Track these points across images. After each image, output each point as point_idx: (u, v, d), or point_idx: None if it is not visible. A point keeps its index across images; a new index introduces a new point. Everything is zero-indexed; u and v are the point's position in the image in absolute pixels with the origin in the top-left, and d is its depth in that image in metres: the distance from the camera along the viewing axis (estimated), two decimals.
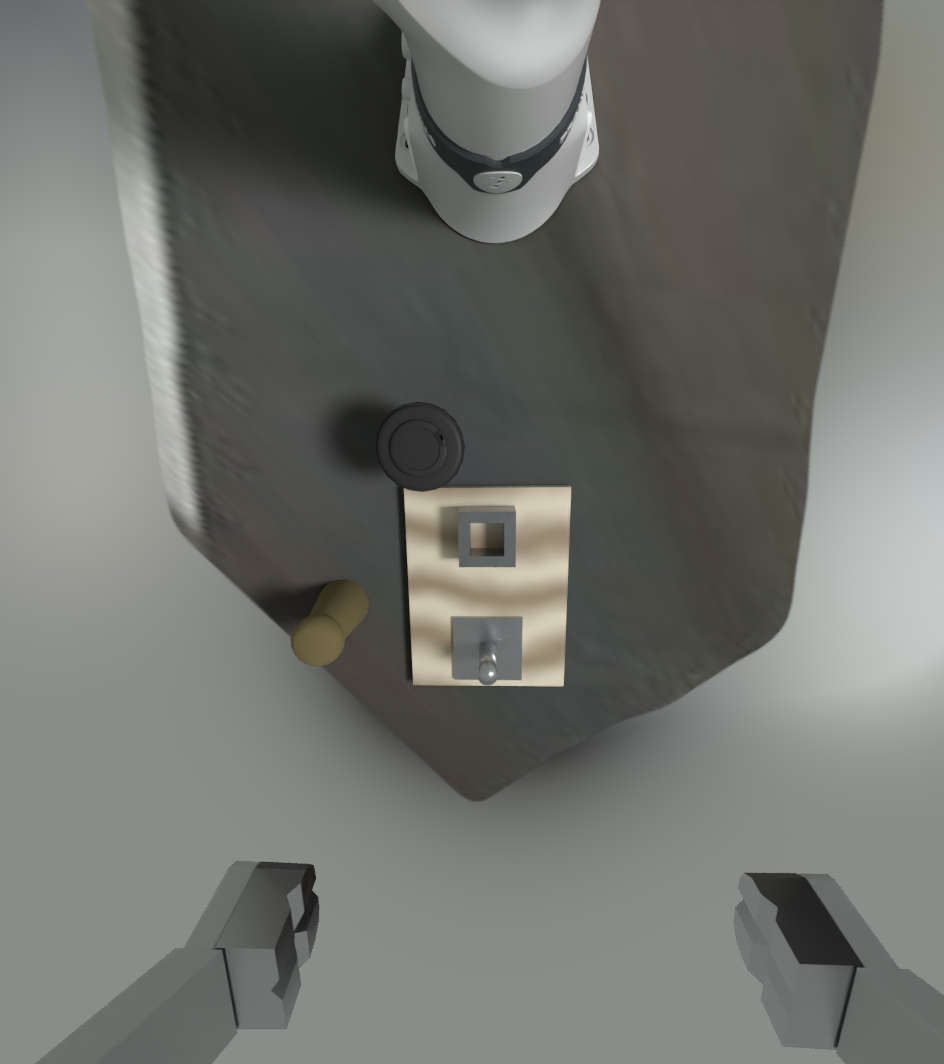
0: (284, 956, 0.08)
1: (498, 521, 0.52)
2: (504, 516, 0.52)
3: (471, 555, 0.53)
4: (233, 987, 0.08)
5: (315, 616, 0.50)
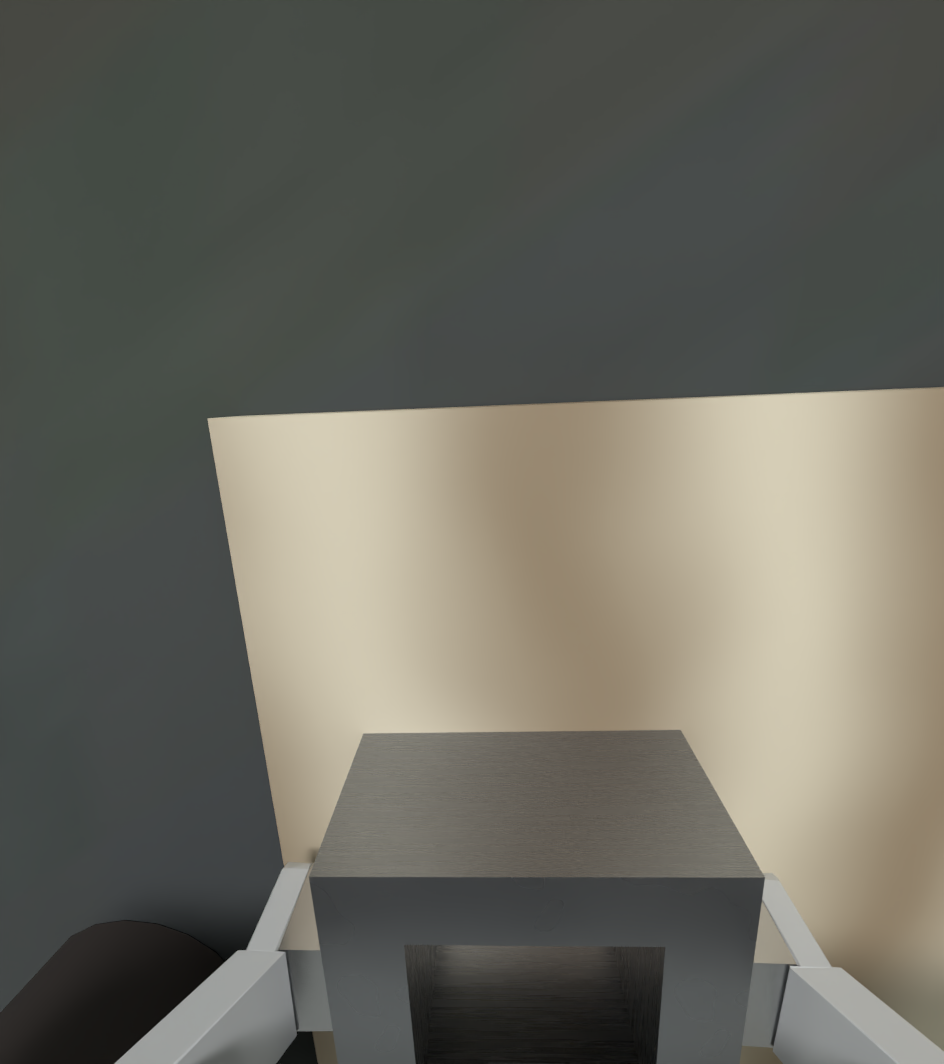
0: None
1: (394, 977, 0.07)
2: (354, 943, 0.07)
3: None
4: (295, 989, 0.08)
5: None
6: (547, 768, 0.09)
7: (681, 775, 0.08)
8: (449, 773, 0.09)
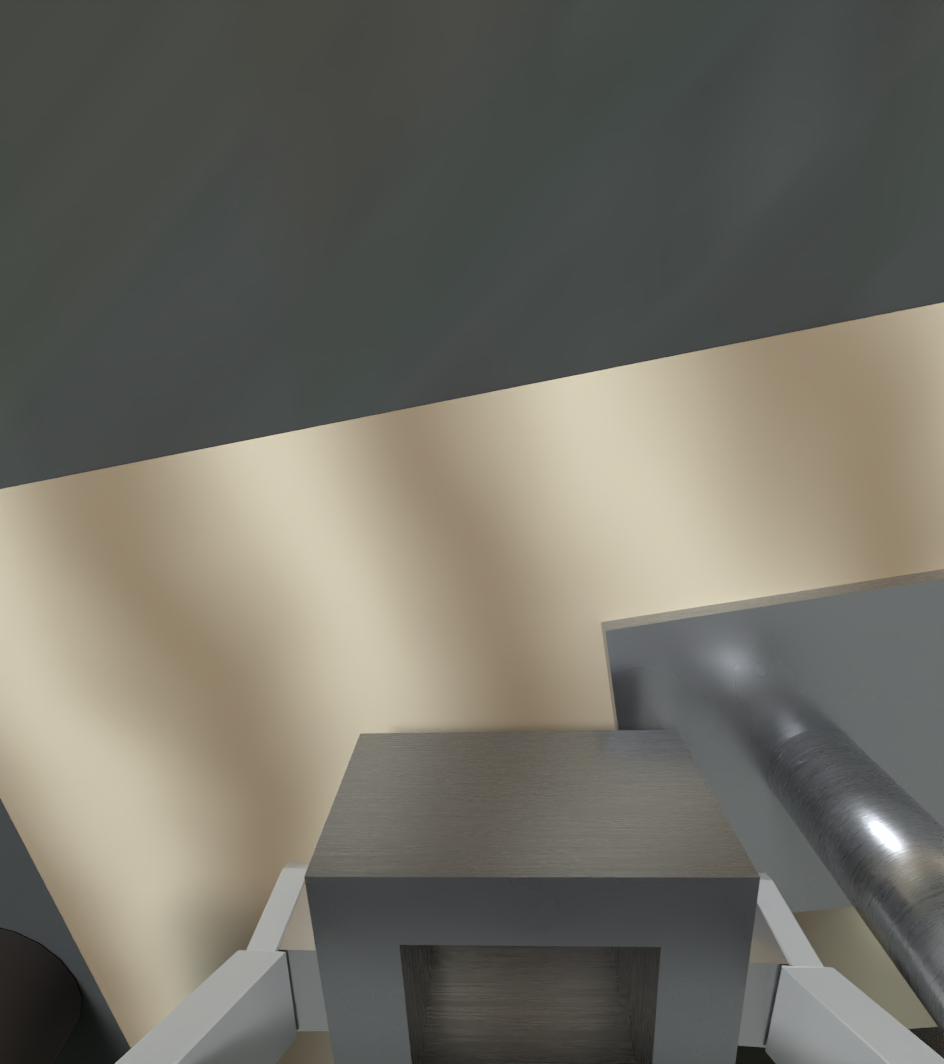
0: None
1: (390, 977, 0.07)
2: (349, 943, 0.07)
3: None
4: (295, 989, 0.08)
5: None
6: (542, 767, 0.09)
7: (677, 775, 0.08)
8: (445, 773, 0.09)
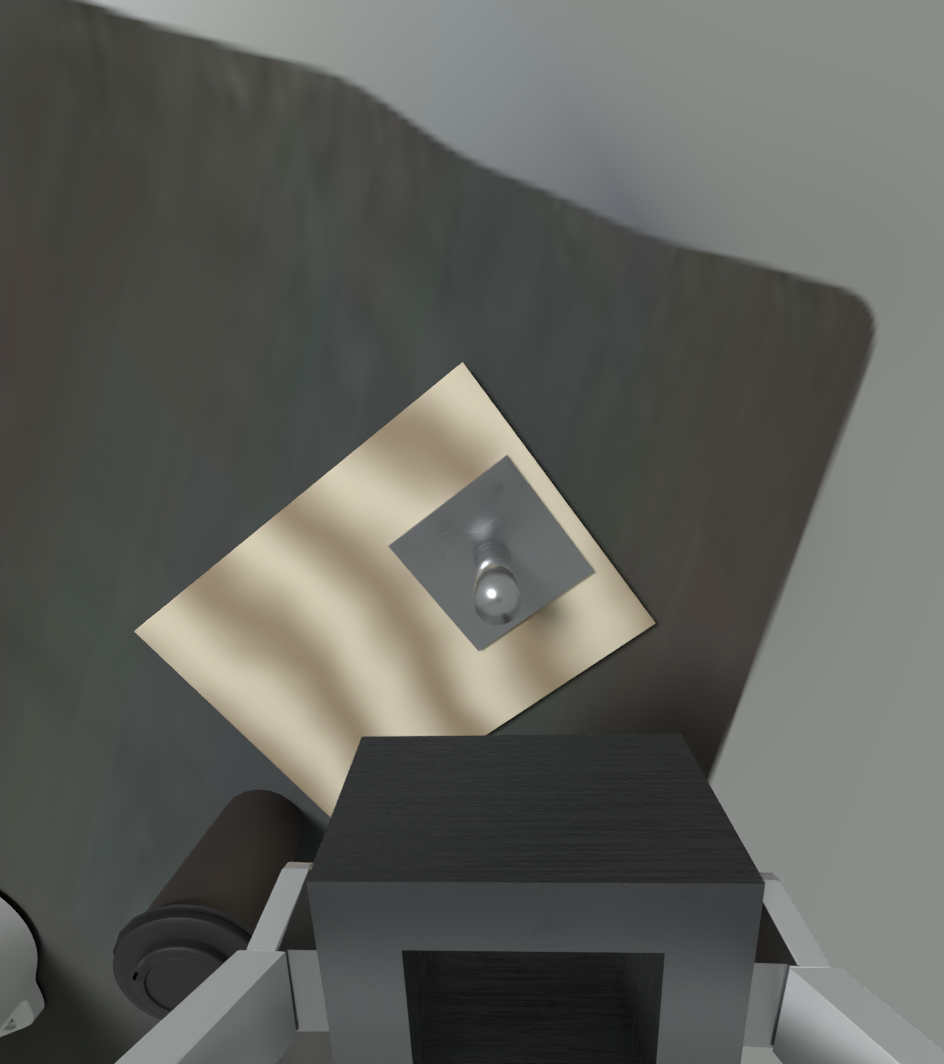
0: None
1: (392, 982, 0.07)
2: (351, 948, 0.07)
3: None
4: (295, 989, 0.08)
5: None
6: (546, 772, 0.09)
7: (681, 779, 0.08)
8: (448, 777, 0.08)
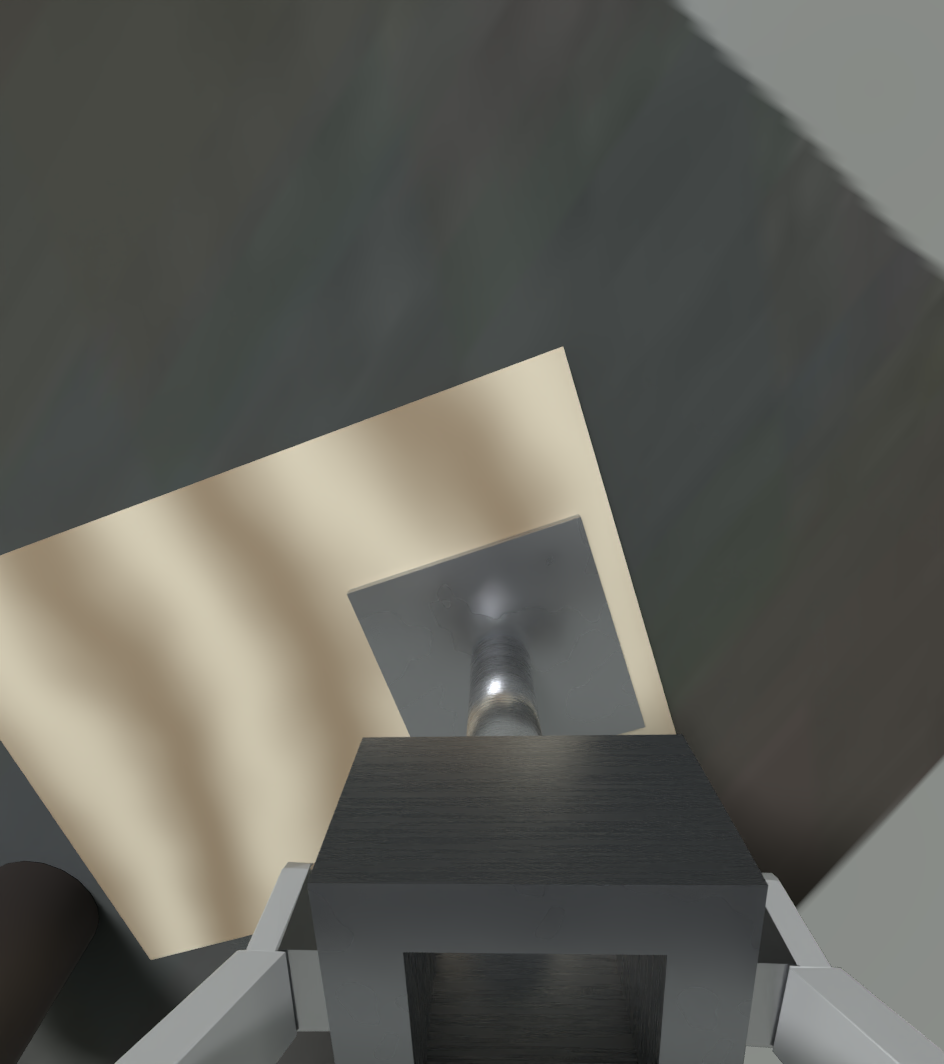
0: None
1: (393, 984, 0.07)
2: (352, 950, 0.07)
3: None
4: (295, 989, 0.08)
5: None
6: (547, 773, 0.09)
7: (683, 780, 0.08)
8: (449, 778, 0.08)
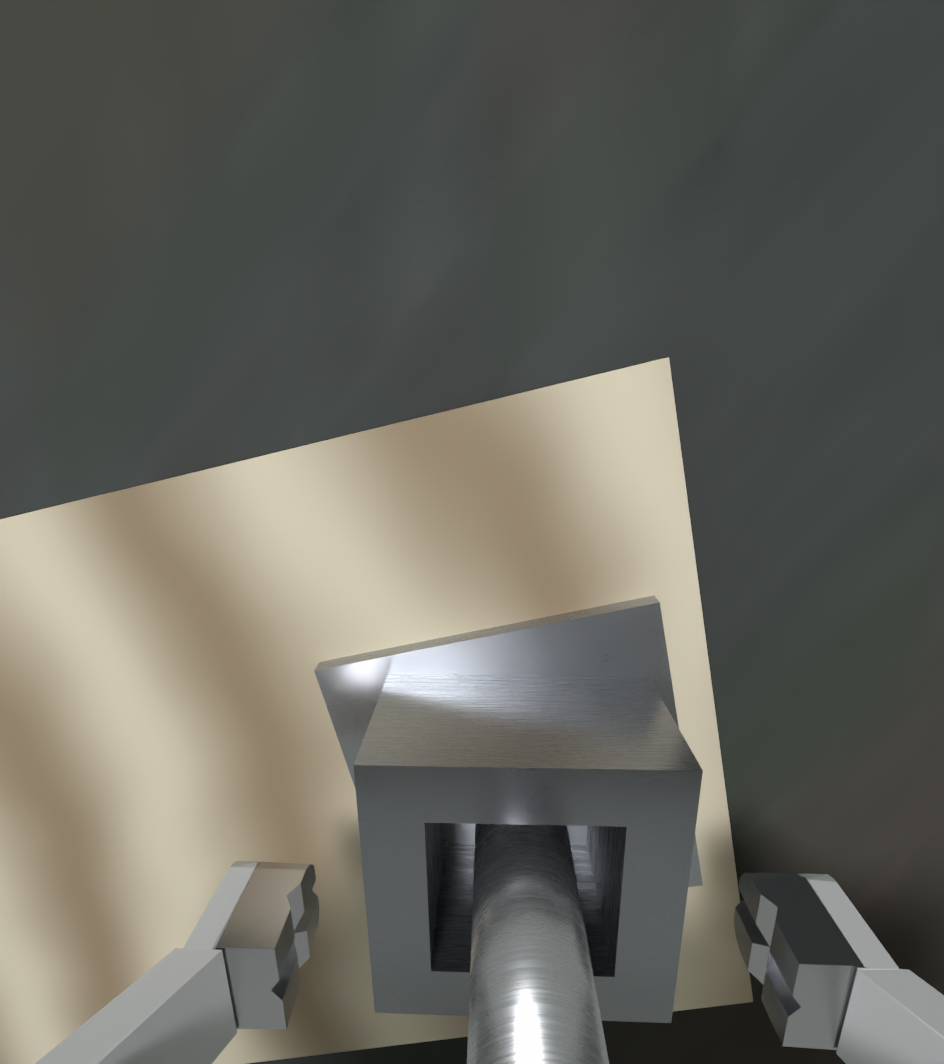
0: (284, 956, 0.08)
1: (415, 849, 0.09)
2: (385, 821, 0.09)
3: (611, 954, 0.10)
4: (233, 987, 0.08)
5: None
6: (539, 699, 0.11)
7: (646, 706, 0.10)
8: (460, 702, 0.11)
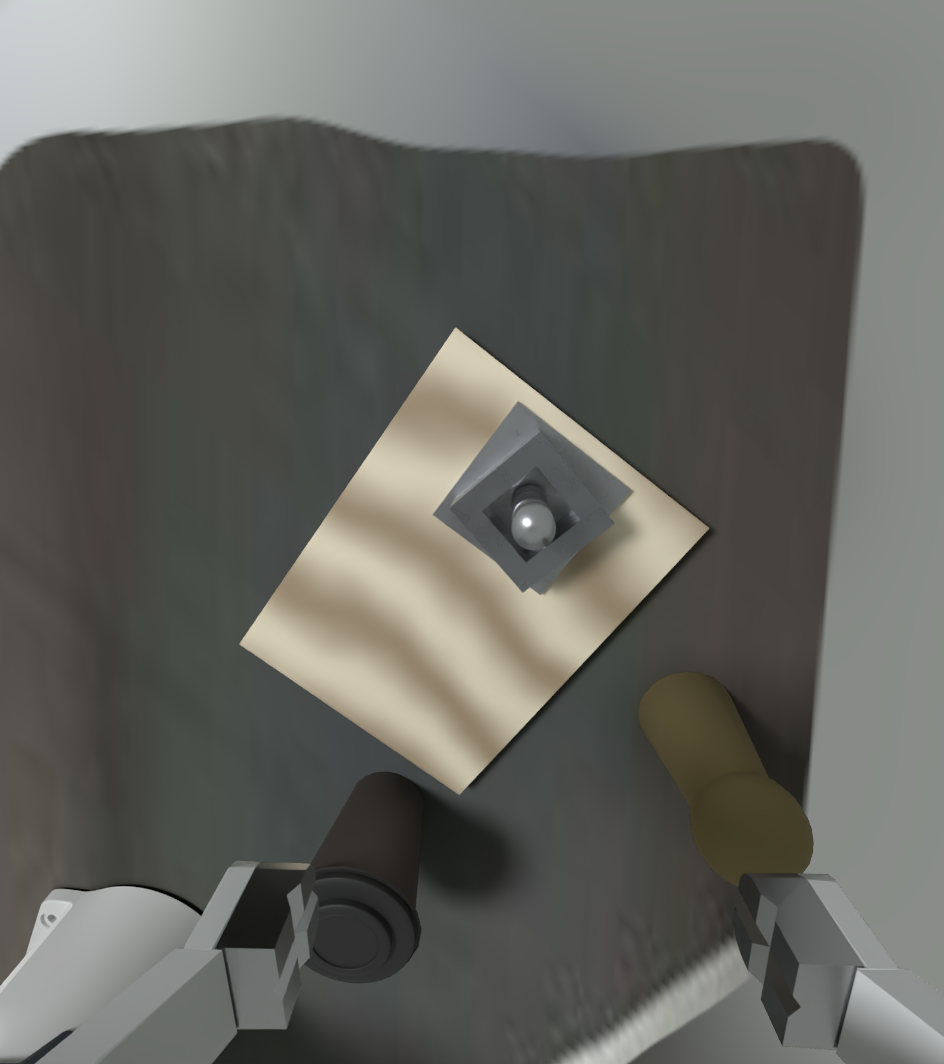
0: (284, 956, 0.08)
1: (486, 522, 0.26)
2: (471, 519, 0.26)
3: (578, 516, 0.26)
4: (233, 987, 0.08)
5: None
6: (500, 460, 0.27)
7: (532, 434, 0.26)
8: (477, 480, 0.27)
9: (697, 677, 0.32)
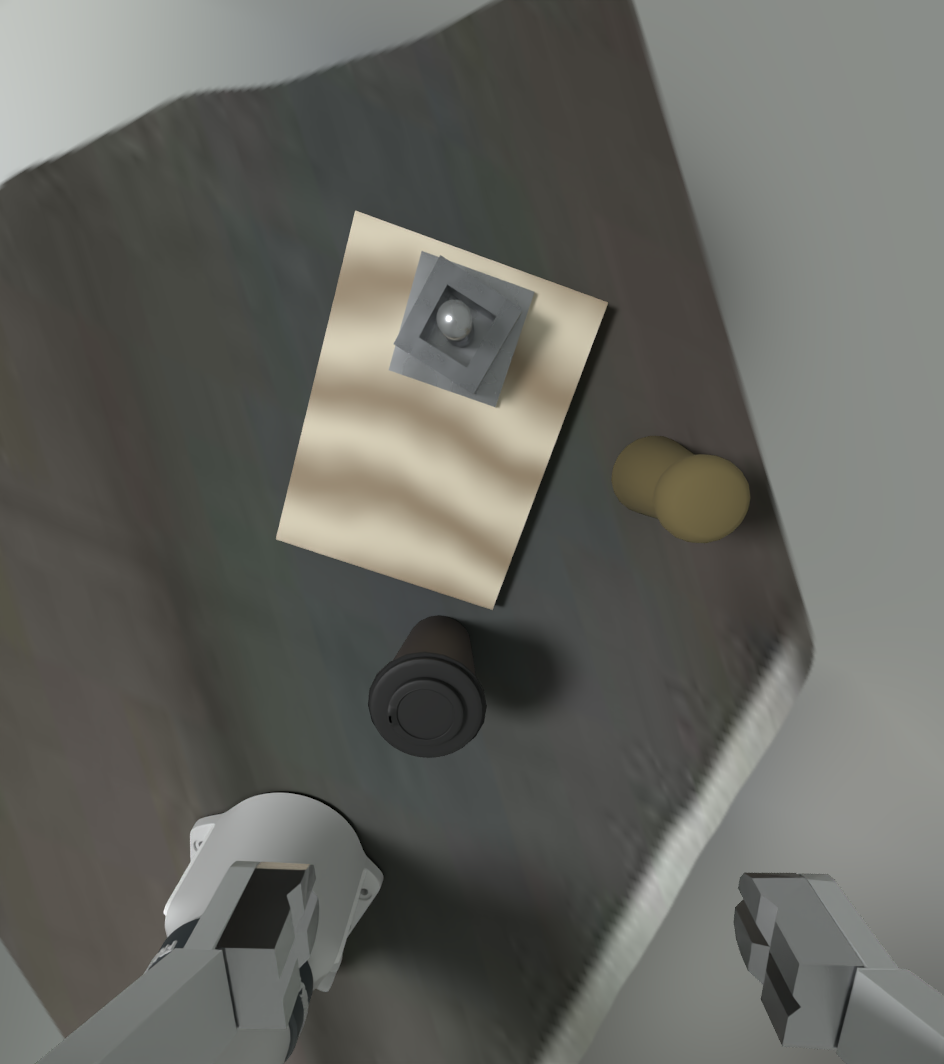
0: (284, 956, 0.08)
1: (425, 344, 0.32)
2: (413, 347, 0.32)
3: (494, 315, 0.32)
4: (233, 987, 0.08)
5: None
6: None
7: None
8: None
9: (648, 438, 0.37)
